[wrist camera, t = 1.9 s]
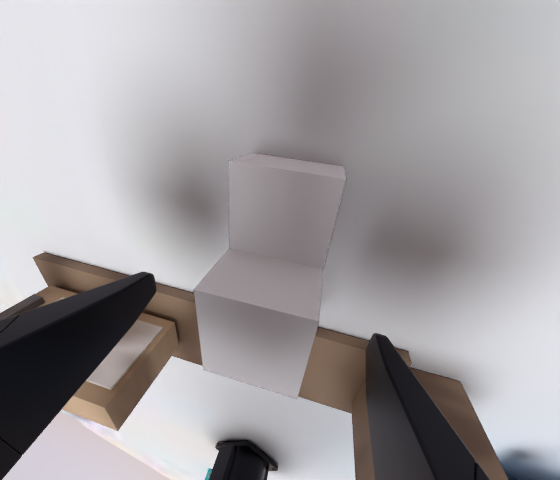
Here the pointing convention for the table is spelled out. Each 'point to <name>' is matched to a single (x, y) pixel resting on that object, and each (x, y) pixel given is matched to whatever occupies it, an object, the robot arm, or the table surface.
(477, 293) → the table surface
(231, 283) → the white chair-shaped block
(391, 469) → the robot arm
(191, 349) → the wooden shelf
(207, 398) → the table surface
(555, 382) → the table surface
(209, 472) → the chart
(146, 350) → the wall mounted shelf tray
